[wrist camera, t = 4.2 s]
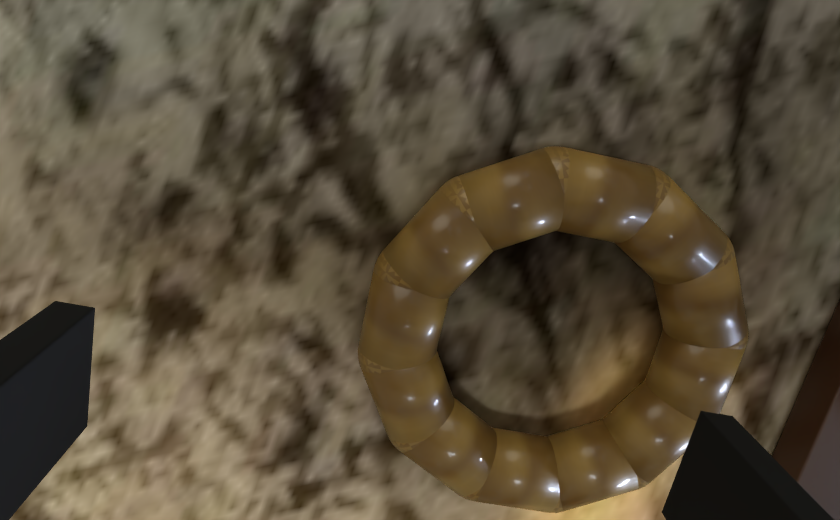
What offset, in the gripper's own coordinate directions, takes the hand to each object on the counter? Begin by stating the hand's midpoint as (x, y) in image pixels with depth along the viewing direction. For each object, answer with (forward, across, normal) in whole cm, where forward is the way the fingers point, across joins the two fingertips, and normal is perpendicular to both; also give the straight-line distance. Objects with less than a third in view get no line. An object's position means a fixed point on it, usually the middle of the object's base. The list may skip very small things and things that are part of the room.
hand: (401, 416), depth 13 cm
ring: (+6, +5, 0) cm, 8 cm away
